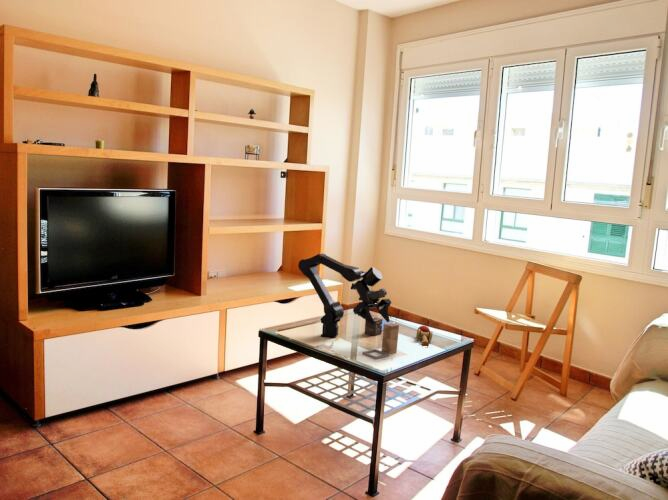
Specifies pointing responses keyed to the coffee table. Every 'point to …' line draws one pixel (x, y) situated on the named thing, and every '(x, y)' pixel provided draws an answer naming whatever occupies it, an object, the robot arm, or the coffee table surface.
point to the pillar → (390, 338)
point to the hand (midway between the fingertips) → (381, 323)
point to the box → (373, 327)
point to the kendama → (424, 335)
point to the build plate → (380, 354)
